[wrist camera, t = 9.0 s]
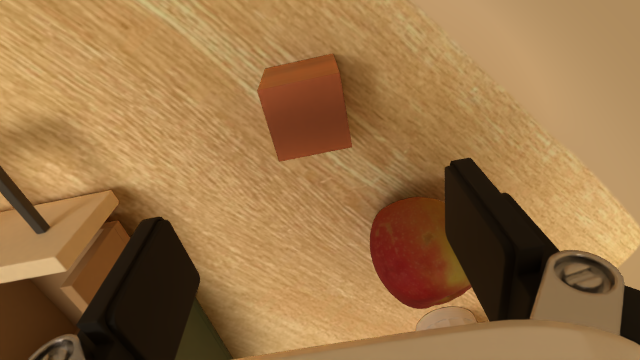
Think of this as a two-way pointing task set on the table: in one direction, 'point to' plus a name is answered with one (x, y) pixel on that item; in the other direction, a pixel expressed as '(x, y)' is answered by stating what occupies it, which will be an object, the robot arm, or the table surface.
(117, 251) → the drawer
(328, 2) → the table surface
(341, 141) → the block
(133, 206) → the table surface
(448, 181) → the robot arm
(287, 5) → the table surface
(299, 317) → the table surface
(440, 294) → the apple
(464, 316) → the cup
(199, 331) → the cabinet
